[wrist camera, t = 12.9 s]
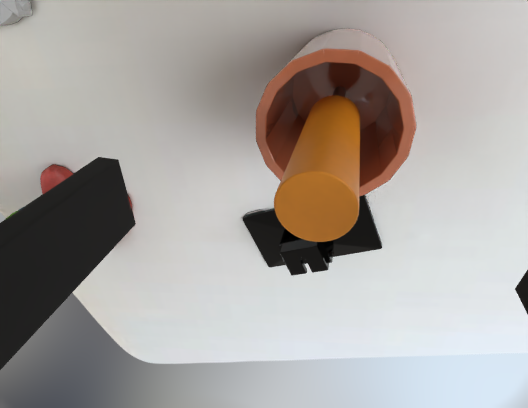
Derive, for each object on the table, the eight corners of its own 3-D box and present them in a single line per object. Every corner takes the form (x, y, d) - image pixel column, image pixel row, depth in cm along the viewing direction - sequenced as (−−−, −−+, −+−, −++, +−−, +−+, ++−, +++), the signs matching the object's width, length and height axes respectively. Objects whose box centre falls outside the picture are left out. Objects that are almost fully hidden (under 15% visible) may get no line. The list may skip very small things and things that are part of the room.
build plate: (269, 264, 37) (259, 296, 33) (241, 213, 34) (226, 241, 30) (382, 246, 32) (384, 281, 28) (361, 183, 29) (360, 213, 25)
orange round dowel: (321, 69, 24) (274, 166, 11) (363, 72, 23) (366, 177, 10) (317, 110, 26) (272, 235, 13) (356, 113, 25) (351, 248, 12)
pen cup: (290, 26, 23) (255, 45, 16) (410, 31, 22) (437, 54, 14) (284, 134, 28) (255, 190, 20) (384, 144, 26) (393, 209, 19)
